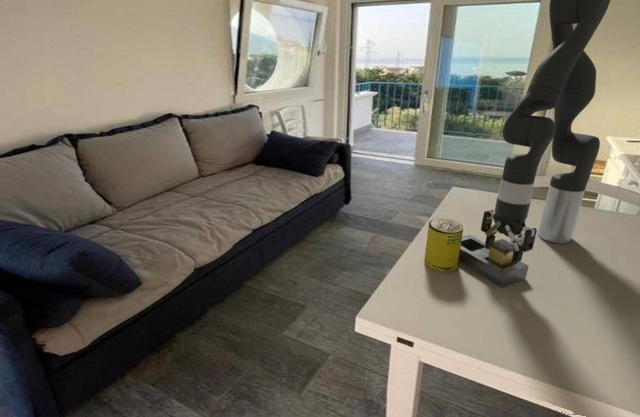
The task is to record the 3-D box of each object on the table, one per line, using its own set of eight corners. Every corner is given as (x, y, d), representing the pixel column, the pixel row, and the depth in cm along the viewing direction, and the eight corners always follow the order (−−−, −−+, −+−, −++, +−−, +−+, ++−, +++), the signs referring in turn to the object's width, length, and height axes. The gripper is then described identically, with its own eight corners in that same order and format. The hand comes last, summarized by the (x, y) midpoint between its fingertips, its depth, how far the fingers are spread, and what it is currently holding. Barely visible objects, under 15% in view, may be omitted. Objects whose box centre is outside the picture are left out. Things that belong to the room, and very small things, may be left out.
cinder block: (467, 246, 116) (469, 234, 115) (525, 278, 100) (528, 265, 98) (445, 252, 113) (446, 240, 111) (501, 287, 96) (504, 274, 94)
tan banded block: (496, 267, 105) (502, 238, 101) (510, 275, 101) (517, 246, 98) (484, 271, 103) (490, 242, 99) (498, 280, 99) (505, 250, 96)
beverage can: (460, 260, 108) (466, 222, 104) (453, 275, 101) (459, 235, 97) (429, 252, 113) (433, 215, 108) (420, 266, 106) (424, 227, 101)
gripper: (551, 204, 89) (535, 264, 95) (500, 186, 101) (489, 240, 107) (530, 210, 86) (515, 271, 92) (480, 190, 98) (470, 246, 104)
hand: (501, 255), depth 100 cm, fingers open, 7 cm apart
